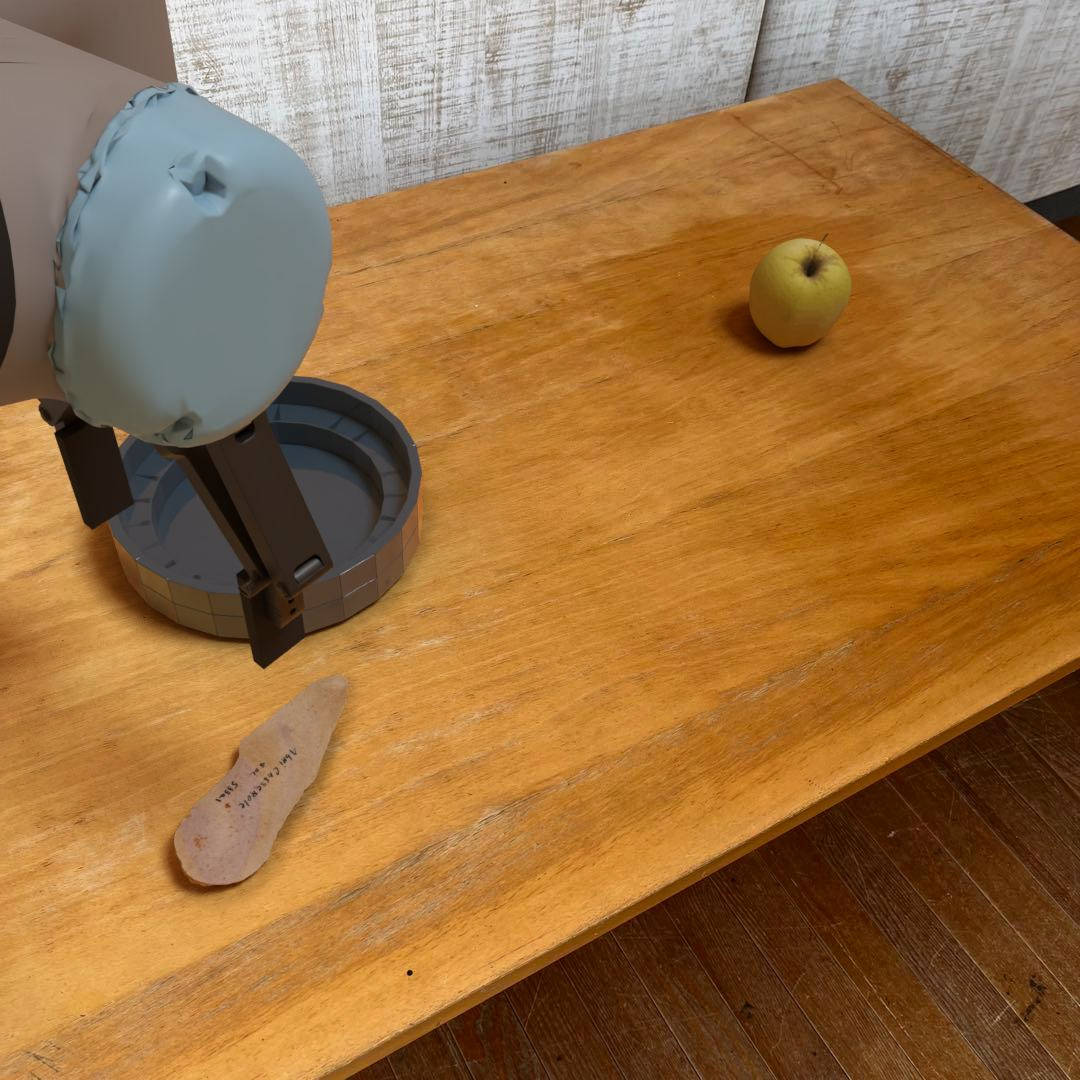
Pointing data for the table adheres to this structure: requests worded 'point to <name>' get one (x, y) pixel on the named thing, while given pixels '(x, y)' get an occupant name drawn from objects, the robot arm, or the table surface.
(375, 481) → the bowl
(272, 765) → the stone tool
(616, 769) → the table surface
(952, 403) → the table surface
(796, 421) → the table surface
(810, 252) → the apple
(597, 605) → the table surface
